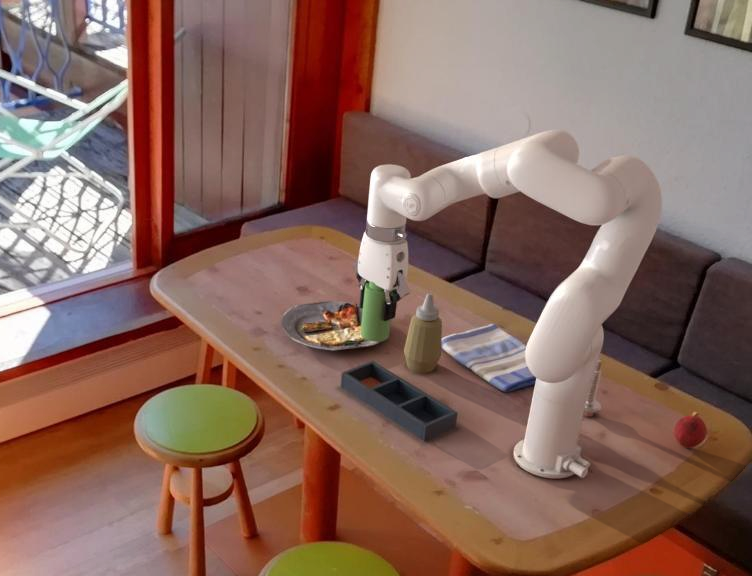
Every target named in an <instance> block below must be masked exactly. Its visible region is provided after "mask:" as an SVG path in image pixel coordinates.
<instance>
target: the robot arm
mask: <svg viewBox="0 0 752 576" xmlns="http://www.w3.org/2000/svg"><path fill="white" fill-rule="evenodd" d="M579 158H580V147H579V145H578V142H577V141H576V139H575V138H574V137H573V135H571V134H570V133H569V132H567V131H565V130H561V129H550V130H545V131H542V132H538V133H535V134H533V135H530V136H527V137H524V138H521V139H517V140H515V141H512V142H509V143H506V144H504V145H500V146H497V147H494V148H490V149H489V150H484V151H482V152H481V151H480V152H479V153H477V154H473V155H469V156H466V157H463V158H460V159H457V160H454V161H450V162H448V163H445V164H442V165H440V166H436V167H435V168H432V169H430V170H428V171H426V172H424V173H422V174H421V175H419V176H416V177H412V175H411V173H410V170H409V169H407V168H406V167H404V166H401V165H398V164H391V163H389V164H388V163H387V164H380V165H378V166H376V167H374V168H373V170H372V171H371V173H370V178H369V179H370V180H369V190H368V201H367V212H366V213H367V214H366V224H365V231H364V232H363V236H362V239H361V242H360V246H359V247H360V248H359V253H358V259H357V261H355V263H353V264H352V270H353V271H354V273H355V275H356V276H355V277H356V279H357V282H358V283H359V284H358V289H359V290H360V294H359V295H360V296H359V297H360V298H359V305H360V306H359V307H360V308H362V309H363V302H364V292H365V285H366V283H367V282H369V281H370V282H371V281H372V282H373V283H375V285H377V286H379V287H381V288H383V289H384V293H385V299H386V302H385V303H384V304H383V311H382V320H383V321H387V320H390V319H391V320H393V319H395V318H396V314H397V306H398V302H400V301H401V300H402V299H403V298H405V297H406V296H408V295H410V293H411V291H410V289H409V286H408V276H409V245H408V240H407V237H408V234H407V233H406V226H407V225H406V224H407V219H408V220H410V221H414V222H422V221H423V222H424V221H426V220H428V219H430V218H432V217H433V216H434V215H436V214H437V213H439V212H441V211H443V210H444V209H446V208H447V207H450V206H451V205H453V204H455V203H459V202H461V201H465V200H468V199H471V198H474V197H478V196H481V195H486V196H488V197H490V198H492V199H500V198H504V197H508V196H511V195H514V194H516V193H520V192H521V193H522V194H524V195H525V196H527V197H528V198H531V199H532V200H534V201H536V202H538V203H540V204H541V205H544V206H545V207H547V208H549V209H552V210H554V211H556V212H558V213H559V214H562V215H563V216H566V217H568V218H569V219H572V220H574V221H576V222H578V223H581V224H583V225H584V224H585V225H589V226H600V227H599V229H598V230H597V231H596V234H595V235H594V238H593V240H592V242H591V244H590V247H589V248H588V250H587V252H586V254H585V256H584V257H583V260H582V261H581V263H580V265H579V266H578V268H576V269H575V270H574V271H573V272H572V273H571V274H569V276H567V277H566V278H565V279H564V280H562V282H561V283H559V284H558V286H557V287H556V288H555V289H554V291H553V292H552V293H551V294H550V297H549V298H548V300H547V301H546V303H545V305H544V307H543V310H542V312H541V314H540V316H539V318H538V320H537V322H536V324H535V326H534V328H533V331H532V333H531V334H530V337H529V339H528V340H527V343H526V345H525V346H526V350H525V359H526V364H527V366H528V368H529V370H530V372H531V373H532V374H533V375H534V376H535V377H536V383H535V384H534V389H533V393H532V399H531V402H530V403H531V404H530V409H529V414H528V419H527V423H526V424H527V425H526V429H525V434H524V439H522V440H520V441H518V442H517V443H516V444H515V446H514V448H513V458H514V460H515V462H516V463H517V465H518V466H519V467H520V468H521V469H523V470H524V471H526V472H528V473H530V474H532V475H534V476H537V477H541V478H546V479H557V480H558V479H565V478H566V479H567V478H569V477H573V476H574V475H577V477H579V478H582V479H584V478H585V477H586V476H587V475H588V473H589V468H590V466H591V462H590V461H588V460H586V459H584V458H582V455H581V453H582V447H581V446H579V445H578V441H579V436H580V432H581V431H580V430H581V428H582V427H581V426H582V423H583V417H584V415H583V414H584V409H585V405H586V400H587V397H588V393H589V389H590V384H591V380H592V377H593V373H594V370H595V367H596V364H597V361H598V359H600V355H601V352H602V348H603V345H604V340H605V339H604V337H605V334H604V332H605V331H604V328H603V323H604V322H606V320H608V318H610V316H611V315H612V314H614V312H615V311H616V310H617V309H618V307H619V306H620V305H621V303H622V301H623V299H624V297H625V294H626V292H627V290H628V289H629V286H630V284H631V282H632V280H633V278H634V277H635V274H636V273H637V270H638V269H639V267H640V264H641V262H642V260H643V258H644V257H645V254H646V252H647V251H648V248H649V246H650V244H651V243H652V240H653V238H654V236H655V235H656V232H657V230H658V226H659V223H660V219H661V215H662V205H663V200H662V199H663V198H662V191H661V186H660V185H659V181H658V179H657V177H656V175H655V173H654V171H652V169H651V168H650V166H648V164H647V163H645V162H644V161H643V160H641V158H640V159H639V158H638V157H636V156H633V155H624V154H623V155H617V156H614V157H610V158H608V159H606V160H603V161H602V162H601V163H599V164H597V165H596V166H595V167H594V168H592V169H591V170H590V169H588V168H586V167H584V166H582V165H579V164H578V162H579ZM392 290H393V296H391V292H390V291H392Z"/></svg>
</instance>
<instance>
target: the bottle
mask: <svg viewBox="0 0 752 576" xmlns="http://www.w3.org/2000/svg"><path fill="white" fill-rule="evenodd" d="M390 292H391V296H393V290H392V291H390ZM385 302H386V299H385V293H384V289H383V288H381V287H379V286H377V285H375V283H373V282H372V281H371V282H370V281H369V282H367V283H366V285H365V292H364V302H363V312H362V322H361V333H360V334H361V336H362V337H363V338H364V339H366V340H369V341H374V342H379V341H382V342H384V341H386V340H388V338H389V337H390V331H391V330H390V329H391V321H392V319H390V320H387V321H383V320H382V311H383V304H384V303H385Z"/></svg>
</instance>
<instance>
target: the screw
mask: <svg viewBox="0 0 752 576" xmlns="http://www.w3.org/2000/svg"><path fill="white" fill-rule="evenodd" d="M601 374H602V359H600V358H598V361H597V364H596V367H595V370H594V373H593V377H592V380H591V384H590V389H589V393H588V397H587V400H586V405H585V409H584V414H583V417H587V418H588V417H593V416H594V413H599V412H600V411H601V409H602V405H601V403H600V402H599V401H598V400H596V397H597V392H598V389H599V384H600V379H601V376H602V375H601Z"/></svg>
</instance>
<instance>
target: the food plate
mask: <svg viewBox="0 0 752 576" xmlns="http://www.w3.org/2000/svg"><path fill="white" fill-rule="evenodd" d="M359 306H360V303H354V302H353V303H352V302H351V303H350V302H346V301H335V300H326V301H325V300H324V301H318V302H309V303H303V304H297V305H294V306H292V307H290V308H289V309H287V310H286V311H285V312H284V313H283V315H282V316H281V318H280V326H281V328H282V330H283V331H284V332H285V334H286V335H287V336H288V337H289V338H290V339H291V340H292V341H295V342H297V343H299V344H302V345H305V346H306V347H310V348H314V349H319V350H326V351H334V352H335V351H341V350H351V349H352V350H354V349H358V348H365V347H372V346H376V345H379V344H381V343H382V342H383V341H379V342H374V341H369V340H366V339H364V338H363V337H362V336H361V334H360V333H361V322H362V312H363V309H362V308H360V307H359Z"/></svg>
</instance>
